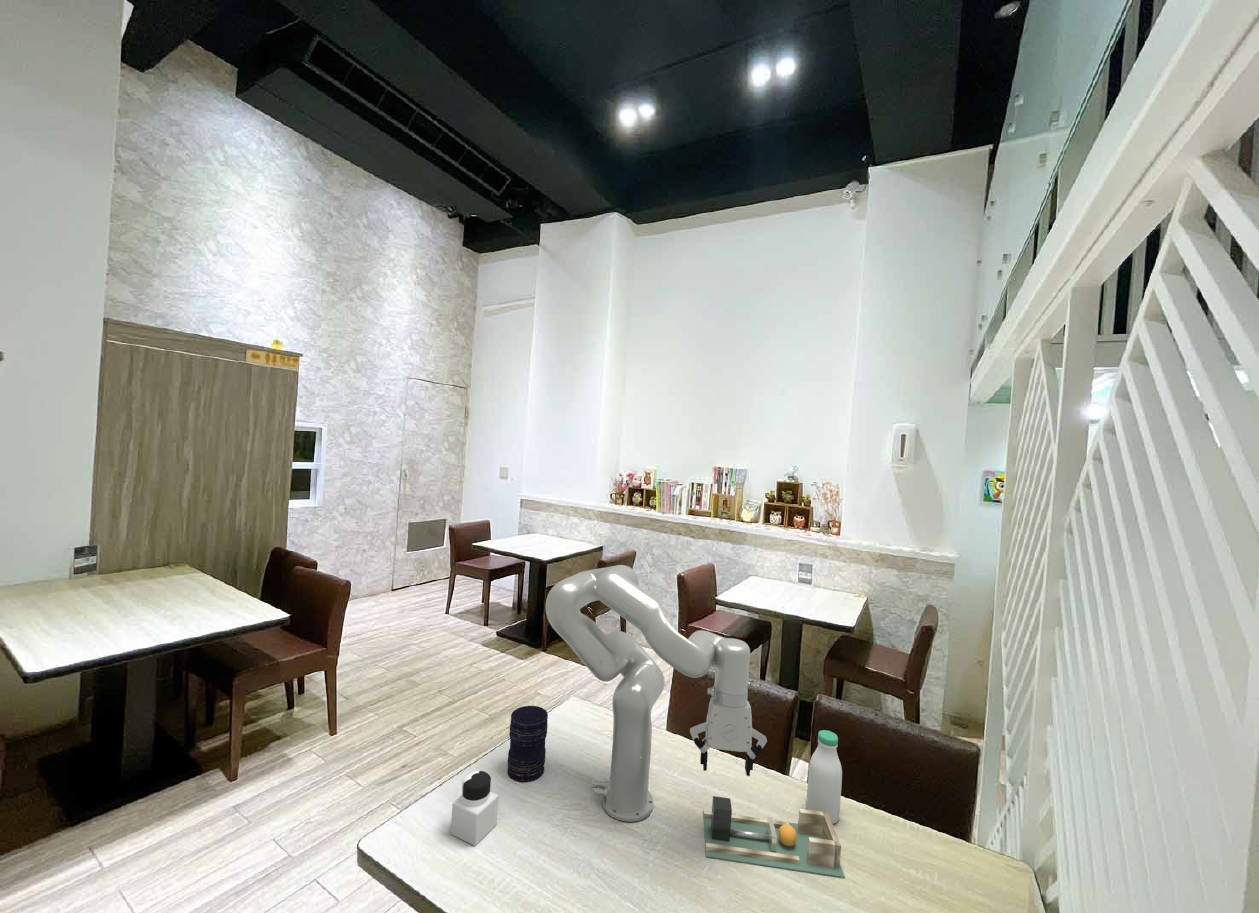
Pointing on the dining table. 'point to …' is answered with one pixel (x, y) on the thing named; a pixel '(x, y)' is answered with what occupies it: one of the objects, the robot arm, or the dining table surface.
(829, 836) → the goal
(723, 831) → the kicker
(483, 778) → the medicine bottle
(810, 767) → the milk bottle
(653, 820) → the dining table surface
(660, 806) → the dining table surface
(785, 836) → the ball
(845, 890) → the dining table surface
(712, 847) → the rails
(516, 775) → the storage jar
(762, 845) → the mat
